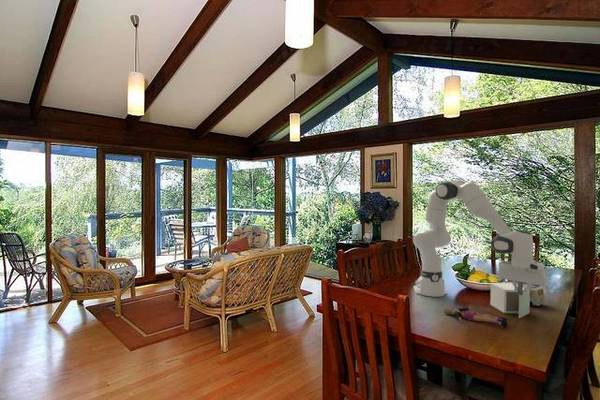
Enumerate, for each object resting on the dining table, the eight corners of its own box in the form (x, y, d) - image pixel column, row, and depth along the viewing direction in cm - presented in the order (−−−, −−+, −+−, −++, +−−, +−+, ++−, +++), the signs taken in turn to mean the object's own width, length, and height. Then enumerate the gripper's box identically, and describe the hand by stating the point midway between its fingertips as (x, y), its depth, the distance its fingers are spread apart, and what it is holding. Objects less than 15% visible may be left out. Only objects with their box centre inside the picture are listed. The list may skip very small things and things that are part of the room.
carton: (490, 304, 192) (490, 283, 191) (512, 304, 191) (512, 283, 191) (504, 313, 178) (504, 289, 178) (528, 313, 178) (528, 290, 178)
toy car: (498, 294, 211) (498, 278, 211) (545, 305, 191) (546, 287, 191) (490, 297, 205) (490, 280, 205) (538, 309, 185) (538, 290, 185)
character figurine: (509, 322, 168) (449, 308, 186) (510, 313, 168) (449, 300, 186) (502, 336, 152) (436, 319, 170) (502, 326, 152) (437, 310, 170)
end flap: (516, 317, 171) (516, 283, 171) (526, 312, 179) (526, 280, 178) (521, 319, 169) (522, 284, 169) (531, 313, 177) (532, 280, 176)
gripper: (496, 260, 176) (495, 287, 176) (544, 267, 160) (543, 297, 160) (501, 258, 180) (500, 285, 180) (548, 265, 164) (547, 294, 165)
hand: (521, 291), depth 170 cm, fingers open, 3 cm apart
